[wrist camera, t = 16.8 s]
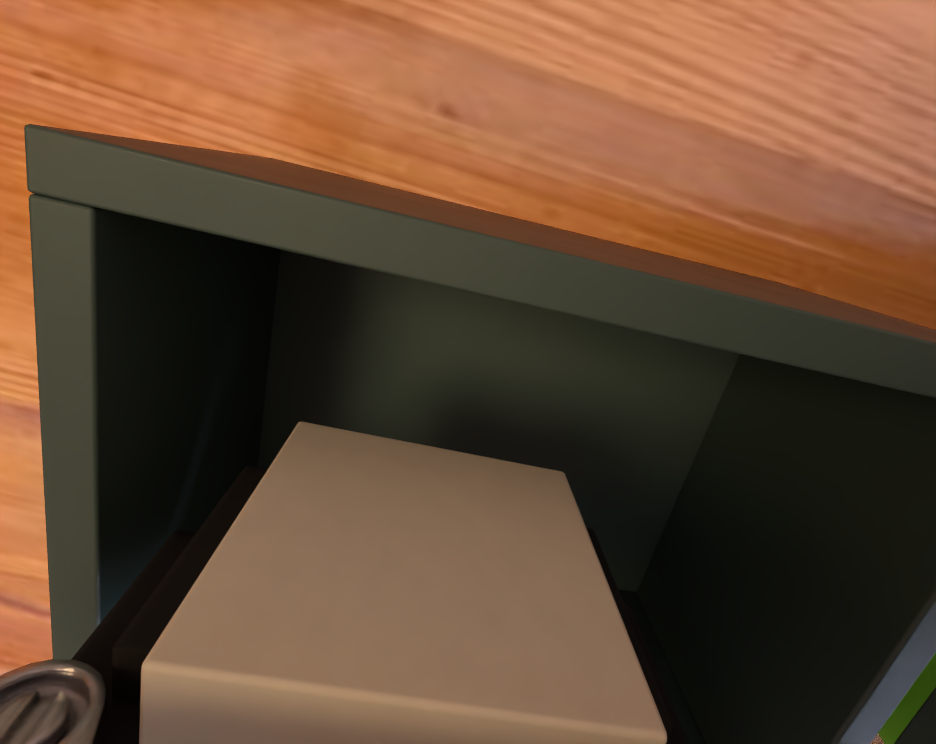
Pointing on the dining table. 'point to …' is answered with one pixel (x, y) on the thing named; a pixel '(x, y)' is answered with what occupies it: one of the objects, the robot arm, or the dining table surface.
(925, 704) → the lid
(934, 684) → the cup
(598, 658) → the block
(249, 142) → the dining table surface
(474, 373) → the chest
